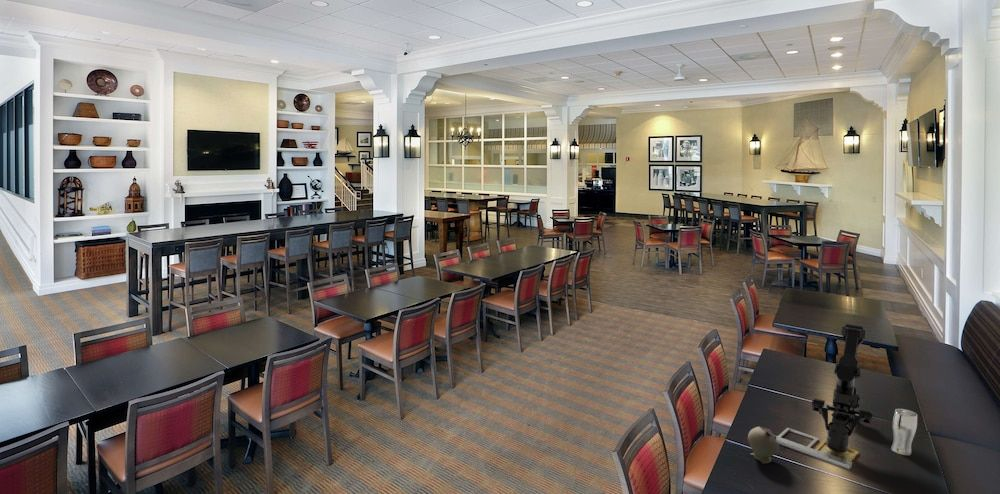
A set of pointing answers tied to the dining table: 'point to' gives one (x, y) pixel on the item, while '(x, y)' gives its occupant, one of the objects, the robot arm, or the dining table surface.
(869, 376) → the dining table surface
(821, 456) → the tray
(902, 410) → the beer glass
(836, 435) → the supplement bottle
